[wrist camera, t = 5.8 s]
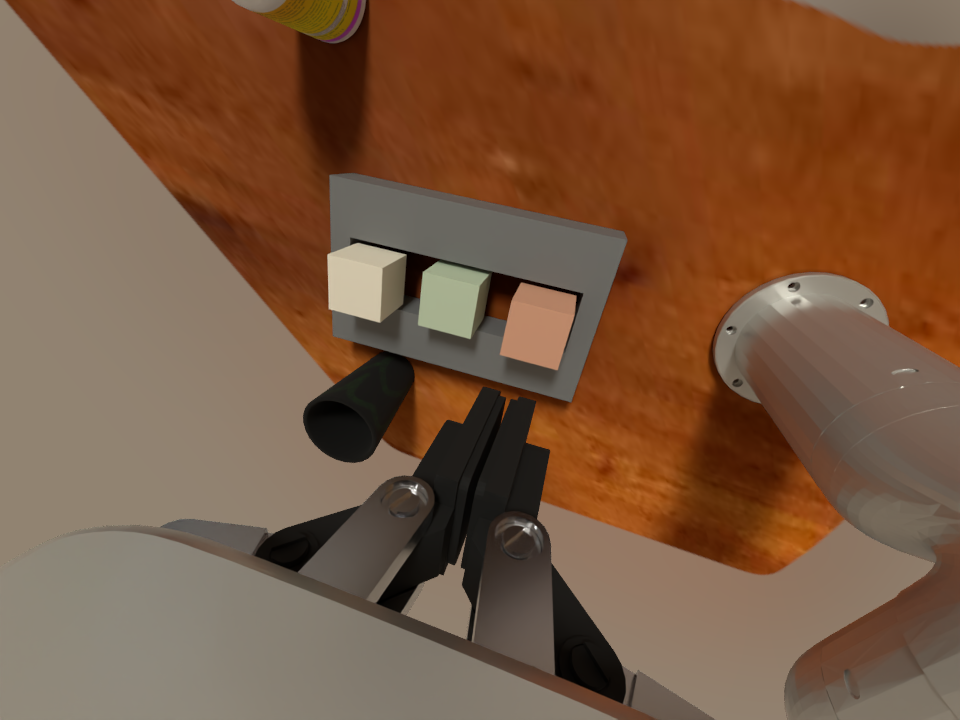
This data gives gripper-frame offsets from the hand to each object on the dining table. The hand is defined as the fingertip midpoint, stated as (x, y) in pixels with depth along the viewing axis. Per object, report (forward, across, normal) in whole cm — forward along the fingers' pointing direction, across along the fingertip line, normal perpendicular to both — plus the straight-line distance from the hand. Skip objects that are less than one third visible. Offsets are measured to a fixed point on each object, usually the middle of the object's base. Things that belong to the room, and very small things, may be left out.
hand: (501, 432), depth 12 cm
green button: (+26, +9, +5) cm, 28 cm away
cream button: (+24, +17, +5) cm, 30 cm away
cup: (+28, +17, +18) cm, 37 cm away
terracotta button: (+25, +1, +5) cm, 25 cm away
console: (+28, +9, +5) cm, 30 cm away
